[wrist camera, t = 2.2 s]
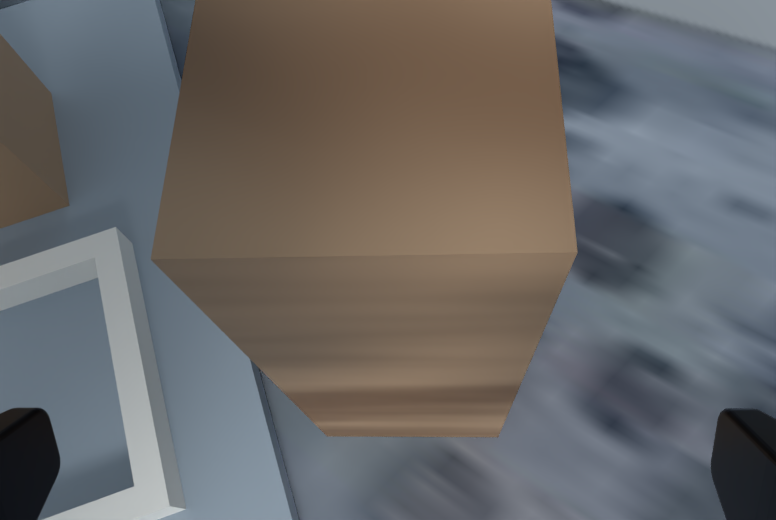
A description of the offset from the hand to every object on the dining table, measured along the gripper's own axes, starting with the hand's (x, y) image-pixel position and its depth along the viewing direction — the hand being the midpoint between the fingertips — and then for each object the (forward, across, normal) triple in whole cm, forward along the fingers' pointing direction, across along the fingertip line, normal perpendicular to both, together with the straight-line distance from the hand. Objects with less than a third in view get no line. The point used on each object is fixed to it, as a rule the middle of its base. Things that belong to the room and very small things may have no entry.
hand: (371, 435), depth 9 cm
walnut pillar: (+11, 0, +5) cm, 12 cm away
